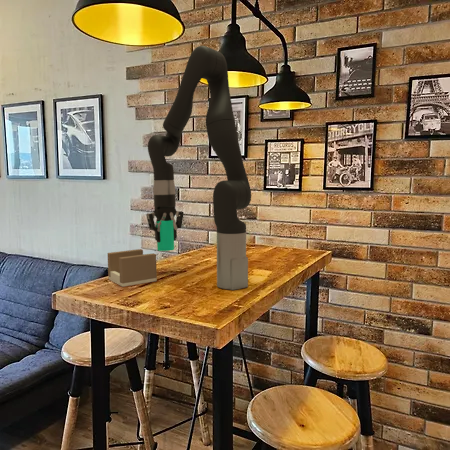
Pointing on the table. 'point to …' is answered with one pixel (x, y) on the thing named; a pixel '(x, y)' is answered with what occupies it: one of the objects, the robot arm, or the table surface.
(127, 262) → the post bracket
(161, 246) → the candle
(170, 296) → the table surface
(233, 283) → the robot arm
